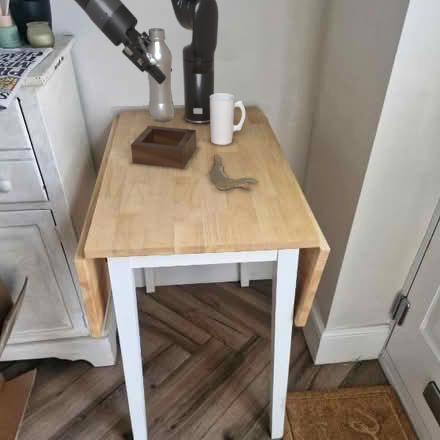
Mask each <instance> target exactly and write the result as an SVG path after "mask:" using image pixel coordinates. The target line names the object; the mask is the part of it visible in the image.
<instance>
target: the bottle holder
mask: <svg viewBox="0 0 440 440" xmlns="http://www.w3.org/2000/svg"><path fill="white" fill-rule="evenodd" d="M130 150H131V157H132V158H131V159H132V164H137V165H145V166H152V167H153V166H154V167H163V168H164V167H165V168H172V169H181V170H183V169H184V168H185V167H186V165H187V164H188V162H189V160H190V159H191V157H192V156H193V154H194V152H195V151H196V150H197V130H196V129H189V128H179V127H168V126H157V125H148V126H146V128H145V129H143V130H142V132H141V133H140V134H139V135H138V136H137V137H136V138H135V139H134V141H132V142H131V143H130Z"/></svg>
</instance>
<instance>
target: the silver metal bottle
mask: <svg viewBox="0 0 440 440" xmlns="http://www.w3.org/2000/svg"><path fill="white" fill-rule="evenodd" d="M148 36H149V40H150V43H149V45H148V46H147V50H148V51H149V57H150V59H151V60H152V61H153V63H154V65H156V66H157V67H158V68H159V69H160V70H161V72H162V73H163V74H164V75H165V76H166V79H165V80H164V81H163V83H162V84H159V83H158V82H157V81H156V80H155V79H154V78H153V77H152V76H151V75H150V74H149V73H148V72H146V73H147V80H148V87H149V88H148V89H149V101H148V114H149V117H150V118H151V120H152V121H154V122H157V123H168V122H171V121H173V119H174V117H175V110H176V109H175V104H174V100H173V93H172V82H171V81H172V72H171V68H172V62H173V55H172V52H171V50H170V48H169V47H168V45H167V44H166V42H165V40H166V31H165V29H164V28H160V27H153V28H152V27H151V28H149V29H148ZM154 65H153V66H154Z"/></svg>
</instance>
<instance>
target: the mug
mask: <svg viewBox="0 0 440 440" xmlns="http://www.w3.org/2000/svg"><path fill="white" fill-rule="evenodd" d="M235 98H236V96H235V95H233V94H231V93H225V92H218V93H217V92H216V93H214V94H212V95H211V96H210V122H209V124H210V126H209V127H210V129H209V130H210V131H209V132H210V142H211V143H212V144H214V145H220V146H226V145H229V144H231V143H232V142H233V137H234V136H233V135H234V132H237V131H238V132H239V131H241V130H242V128H243V125H244V122H245V120H246V108H245V105H244V103H243V100H242V99H241V100H237V101H235ZM235 108H239V109H240V111H241V117H240V120H239V122H238V123H237V124H234V119H235Z"/></svg>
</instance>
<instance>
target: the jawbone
mask: <svg viewBox="0 0 440 440" xmlns="http://www.w3.org/2000/svg"><path fill="white" fill-rule="evenodd" d="M213 158H214V159H213V160H214V165H213V167H212V169H211V171H210V178H211V180H212V182H213V183H215V188H217V189H218V190H222V191H225V190H229V189H232V188H243V189H244V190H246V191H247V190H248V187H249V183H252V184H260V181H258V180H257V179H256V178H253V177H250V176H249V177H247V176H246V177H240V178H228V176H227V175H226V174H225V171H224V167H225V165H222V164H221V160H222V159H221V155H220V154H219V153H217V154H214V155H213Z"/></svg>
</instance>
